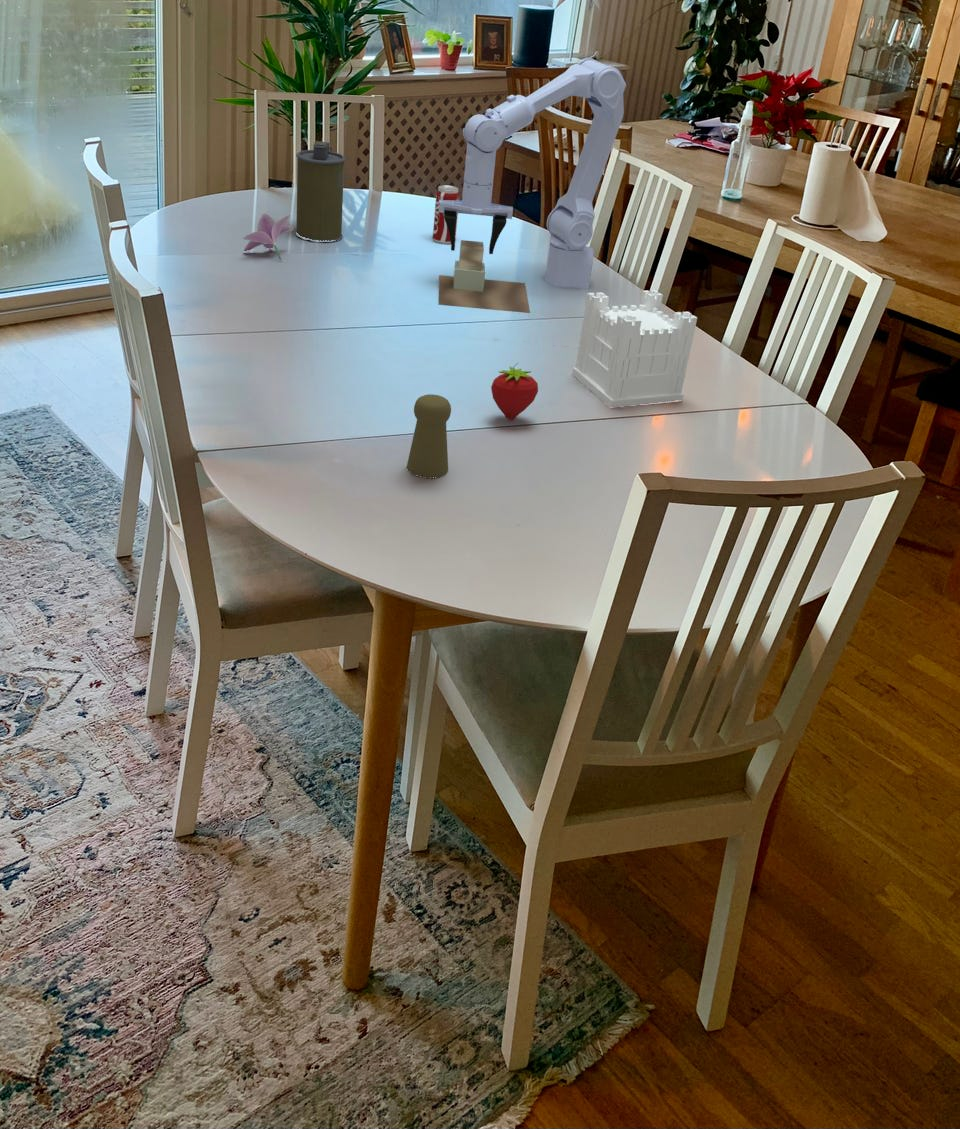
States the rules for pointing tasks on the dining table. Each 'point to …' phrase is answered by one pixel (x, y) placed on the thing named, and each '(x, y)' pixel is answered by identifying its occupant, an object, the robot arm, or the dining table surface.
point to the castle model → (633, 351)
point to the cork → (430, 437)
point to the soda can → (440, 225)
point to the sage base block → (469, 278)
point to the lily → (267, 232)
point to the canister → (320, 193)
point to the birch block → (471, 255)
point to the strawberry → (514, 391)
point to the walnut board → (485, 295)
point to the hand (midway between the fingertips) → (471, 250)
